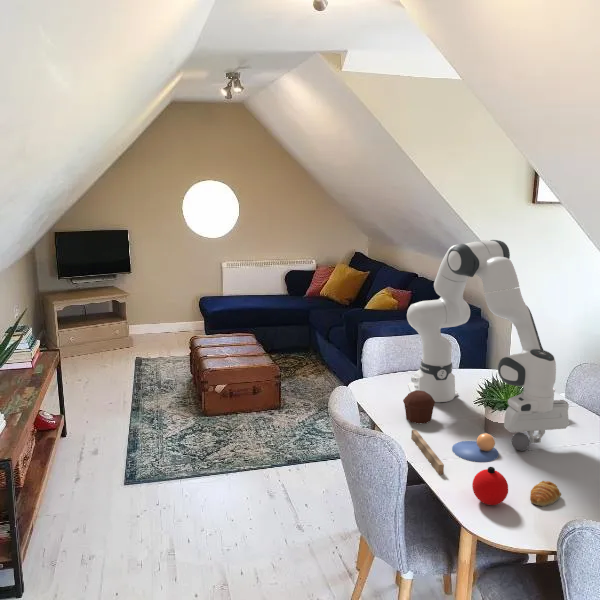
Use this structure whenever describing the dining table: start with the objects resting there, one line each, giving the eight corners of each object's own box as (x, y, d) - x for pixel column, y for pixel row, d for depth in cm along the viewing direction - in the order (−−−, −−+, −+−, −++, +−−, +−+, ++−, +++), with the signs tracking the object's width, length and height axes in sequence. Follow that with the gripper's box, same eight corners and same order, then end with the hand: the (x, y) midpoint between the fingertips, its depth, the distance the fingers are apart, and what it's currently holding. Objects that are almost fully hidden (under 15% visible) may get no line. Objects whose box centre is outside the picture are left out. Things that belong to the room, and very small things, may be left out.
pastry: (549, 512, 145) (550, 498, 144) (523, 502, 150) (523, 489, 149) (562, 497, 152) (563, 484, 151) (536, 488, 156) (537, 476, 156)
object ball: (492, 441, 181) (477, 449, 181) (486, 427, 180) (471, 435, 180) (500, 449, 176) (484, 457, 175) (494, 434, 174) (478, 442, 174)
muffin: (408, 410, 210) (409, 384, 208) (438, 415, 205) (439, 389, 203) (398, 421, 200) (399, 395, 198) (429, 428, 195) (430, 400, 193)
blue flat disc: (445, 443, 183) (445, 442, 183) (485, 440, 185) (486, 439, 185) (463, 463, 170) (463, 463, 170) (506, 460, 172) (507, 459, 172)
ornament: (482, 489, 155) (484, 456, 153) (513, 502, 149) (516, 468, 147) (464, 502, 150) (466, 467, 147) (496, 516, 143) (498, 480, 141)
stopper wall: (411, 438, 187) (411, 429, 186) (415, 438, 187) (416, 429, 187) (438, 474, 164) (438, 464, 163) (443, 474, 164) (443, 464, 163)
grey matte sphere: (526, 432, 181) (514, 445, 182) (516, 426, 178) (504, 439, 180) (536, 444, 176) (524, 456, 177) (526, 437, 174) (514, 450, 175)
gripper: (562, 395, 182) (559, 435, 184) (503, 399, 179) (500, 440, 182) (574, 403, 175) (571, 444, 178) (513, 407, 173) (510, 448, 176)
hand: (534, 442), depth 180 cm, fingers closed
